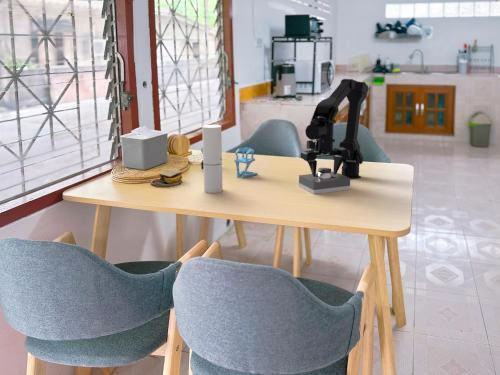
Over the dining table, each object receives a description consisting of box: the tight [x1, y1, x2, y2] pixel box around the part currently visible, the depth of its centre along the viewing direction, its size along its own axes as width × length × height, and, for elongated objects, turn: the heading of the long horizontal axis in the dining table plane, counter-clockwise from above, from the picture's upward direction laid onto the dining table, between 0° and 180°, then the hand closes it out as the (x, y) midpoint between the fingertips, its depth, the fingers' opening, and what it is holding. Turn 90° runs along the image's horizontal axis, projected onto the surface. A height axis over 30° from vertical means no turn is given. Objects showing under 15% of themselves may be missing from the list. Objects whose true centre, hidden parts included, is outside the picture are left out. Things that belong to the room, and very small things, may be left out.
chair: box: [234, 146, 258, 179], centre depth 233 cm, size 8×8×12 cm
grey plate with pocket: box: [298, 171, 351, 195], centre depth 214 cm, size 16×12×4 cm
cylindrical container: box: [201, 124, 223, 194], centre depth 209 cm, size 7×7×25 cm
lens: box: [317, 167, 332, 179], centre depth 213 cm, size 5×5×6 cm
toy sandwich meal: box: [150, 168, 183, 188], centre depth 223 cm, size 12×14×5 cm
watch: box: [200, 146, 204, 170], centre depth 247 cm, size 6×8×11 cm
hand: (324, 175), depth 213 cm, fingers open, 9 cm apart
